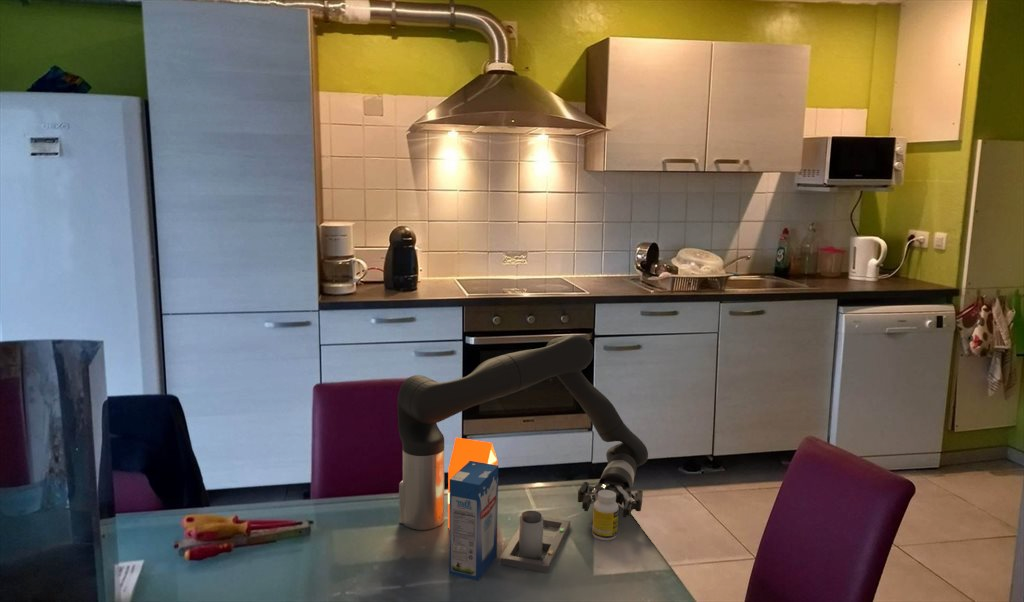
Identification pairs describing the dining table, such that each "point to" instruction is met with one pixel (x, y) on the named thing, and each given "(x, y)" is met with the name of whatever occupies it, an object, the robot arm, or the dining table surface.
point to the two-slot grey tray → (548, 544)
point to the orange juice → (468, 458)
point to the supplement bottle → (605, 516)
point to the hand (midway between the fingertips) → (605, 510)
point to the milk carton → (473, 520)
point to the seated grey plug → (531, 535)
